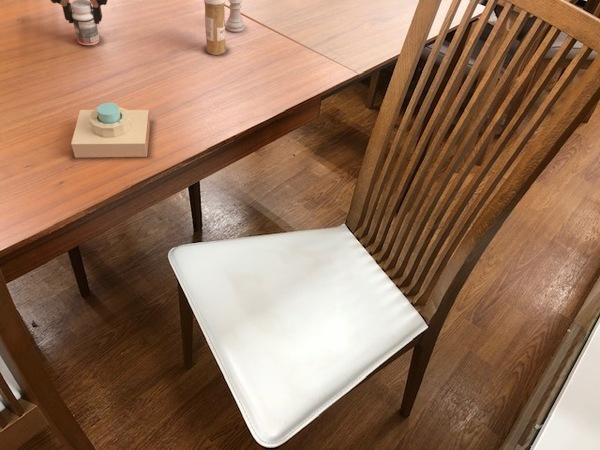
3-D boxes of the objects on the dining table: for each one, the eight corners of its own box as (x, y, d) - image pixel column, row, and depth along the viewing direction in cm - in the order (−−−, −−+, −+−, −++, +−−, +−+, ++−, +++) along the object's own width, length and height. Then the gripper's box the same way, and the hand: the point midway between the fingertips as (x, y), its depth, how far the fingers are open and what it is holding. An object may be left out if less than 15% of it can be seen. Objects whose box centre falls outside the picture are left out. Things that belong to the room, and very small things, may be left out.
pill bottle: (77, 36, 114) (68, -1, 108) (99, 35, 116) (92, -2, 110) (77, 46, 111) (69, 8, 105) (100, 45, 113) (93, 7, 107)
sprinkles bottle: (227, 55, 116) (226, -5, 106) (207, 56, 114) (205, -4, 105) (224, 45, 119) (223, -14, 109) (204, 46, 117) (201, -14, 108)
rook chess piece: (227, 33, 123) (227, 0, 117) (224, 24, 126) (224, -8, 120) (245, 33, 124) (246, 0, 118) (242, 24, 127) (243, -8, 121)
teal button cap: (97, 124, 86) (95, 114, 85) (100, 112, 89) (98, 102, 87) (119, 124, 87) (117, 114, 86) (121, 112, 89) (119, 102, 88)
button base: (74, 157, 87) (68, 134, 83) (83, 123, 94) (77, 100, 90) (147, 156, 89) (143, 133, 85) (150, 123, 96) (147, 100, 92)
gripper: (107, -68, 102) (120, 15, 114) (31, -73, 100) (53, 13, 112) (102, -55, 97) (117, 31, 109) (22, -59, 94) (46, 29, 107)
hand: (84, 21), depth 110 cm, fingers closed on pill bottle, 4 cm apart
